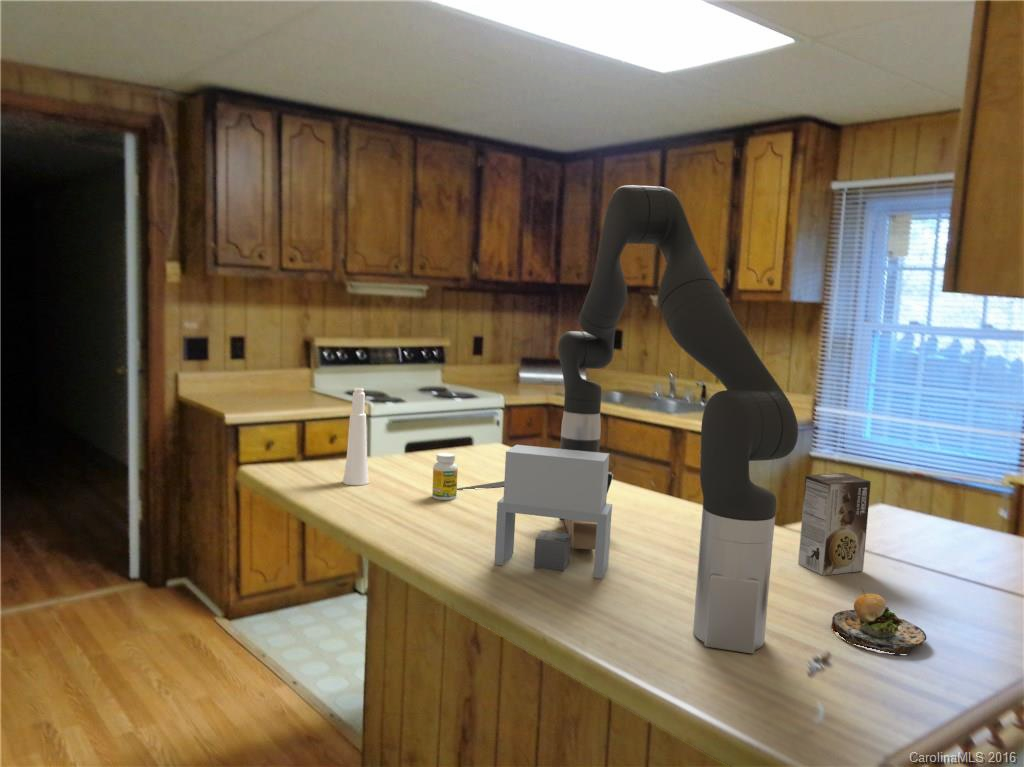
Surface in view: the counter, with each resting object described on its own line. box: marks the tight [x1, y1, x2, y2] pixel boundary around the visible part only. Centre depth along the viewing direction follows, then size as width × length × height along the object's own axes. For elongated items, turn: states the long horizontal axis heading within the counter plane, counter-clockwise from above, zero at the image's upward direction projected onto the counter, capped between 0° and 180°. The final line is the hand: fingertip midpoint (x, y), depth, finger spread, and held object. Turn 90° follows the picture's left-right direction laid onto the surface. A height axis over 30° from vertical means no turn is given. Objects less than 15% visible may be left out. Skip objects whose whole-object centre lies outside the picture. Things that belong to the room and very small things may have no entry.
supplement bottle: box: [432, 452, 458, 501], centre depth 169 cm, size 5×5×10 cm
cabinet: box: [494, 444, 613, 580], centre depth 128 cm, size 7×18×19 cm, turn 76°
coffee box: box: [797, 472, 872, 576], centre depth 134 cm, size 9×6×16 cm
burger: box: [830, 584, 927, 655], centre depth 106 cm, size 12×12×8 cm
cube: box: [533, 530, 571, 572], centre depth 129 cm, size 5×5×5 cm
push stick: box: [563, 519, 597, 550], centre depth 147 cm, size 24×4×4 cm, turn 1°
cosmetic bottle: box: [342, 387, 370, 486], centre depth 178 cm, size 6×6×22 cm
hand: (575, 520), depth 151 cm, fingers closed on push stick, 4 cm apart
